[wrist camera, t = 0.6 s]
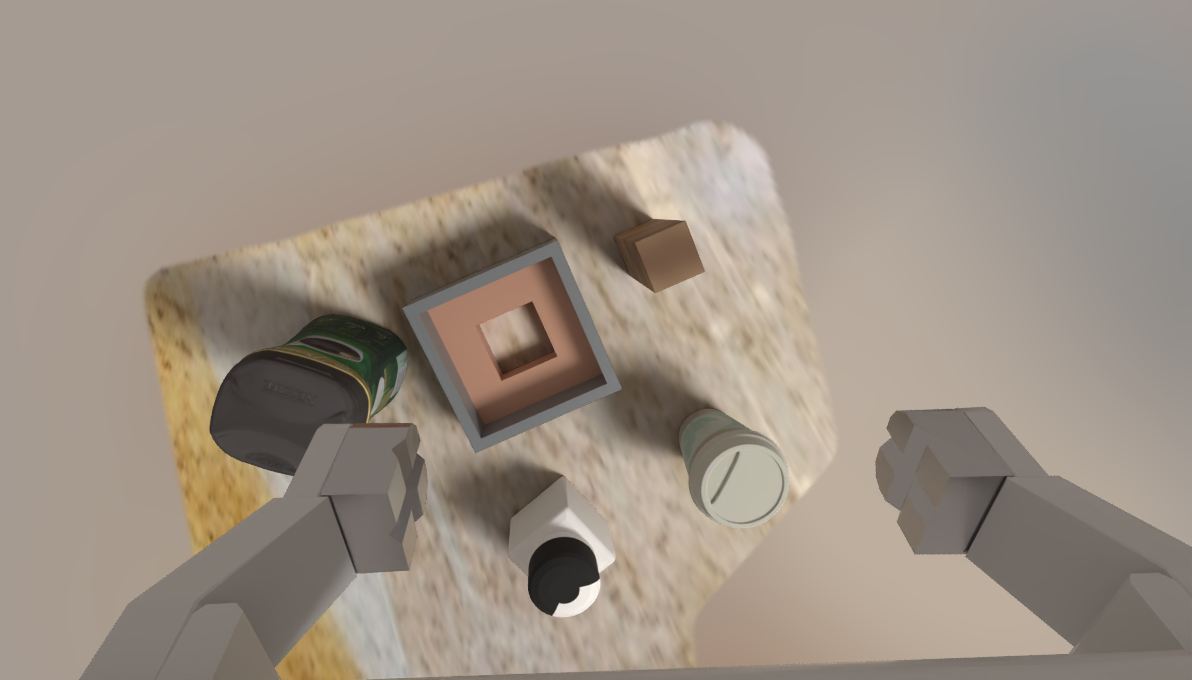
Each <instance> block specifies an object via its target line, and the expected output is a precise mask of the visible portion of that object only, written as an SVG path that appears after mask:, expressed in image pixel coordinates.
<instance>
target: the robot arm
mask: <svg viewBox="0 0 1192 680" xmlns="http://www.w3.org/2000/svg"><path fill="white" fill-rule="evenodd" d="M887 430H888V432H889V433H890V435H891V437H892V438H891V439H889V440H888V441H887V442H886V443H884V444H883V445H882V446H881V447H880V448H879V452H878V455H877V458H876V478H877V482H878V485H879V489H880V491H881V493H882V494H883V497H884V499H885V500H886V501H887V502H888V503H890V504H891V505H893V506H894V507H895V508H897V509H898V510H900V513H899V517H898V520H897V523H898V525H899V526H900V528H901V530H902V532H903V534H904V535H905V537H906V539H907V541H908V543H909V545H910V547H911V548H912V550H913V552H914V554H966V557H967V558H968V559H969V560H970V561H971V562H973V563H974V564H975V565H976V566H978V567H979V568H980V569H981V570H982V571H984V572H985V573H986V574H987V575H988V576H989V577H991V578H992V579H993V580H994V581H996V582H997V583H998V584H999V585H1000V586H1002V587H1003V588H1004V589H1005V590H1006V591H1008V592H1009V593H1010V594H1011V595H1012V596H1014V597H1015V598H1016V599H1017V600H1018V601H1020V602H1021V603H1022V604H1023V605H1024V606H1026V607H1027V608H1028V609H1029V610H1030V611H1032V612H1033V613H1034V614H1035V615H1037V616H1038V617H1039V618H1040V619H1041V620H1043V621H1044V622H1045V623H1046V624H1047V625H1049V626H1050V627H1051V628H1052V629H1053V630H1055V631H1056V632H1057V633H1058V634H1060V635H1061V636H1062V637H1063V638H1064V639H1066V640H1067V641H1068V642H1069V643H1070V644H1072V645H1073V646H1074V648H1073V649H1072V650H1071V652H1070V653H1069V654H1060V655H1059V654H1057V655H1030V656H1004V657H977V658H948V659H922V660H895V661H866V662H838V663H812V664H785V665H760V666H732V667H705V668H678V669H650V670H621V671H593V672H565V673H536V674H508V675H479V676H451V677H424V678H397V679H369V680H1192V547H1191V546H1189V545H1187V544H1185V543H1183V542H1181V541H1180V540H1178V539H1176V538H1174V537H1172V536H1170V535H1168V534H1166V533H1164V532H1163V531H1161V530H1159V529H1157V528H1155V527H1153V526H1151V525H1149V524H1147V523H1146V522H1144V521H1142V520H1140V519H1138V518H1136V517H1135V516H1133V515H1131V514H1129V513H1127V512H1125V511H1123V510H1122V509H1120V508H1118V507H1116V506H1114V505H1112V504H1110V503H1108V502H1106V501H1105V500H1102V499H1101V498H1099V497H1097V496H1095V495H1093V494H1091V493H1090V492H1088V491H1086V490H1084V489H1082V488H1080V487H1078V486H1076V485H1075V484H1073V483H1071V482H1069V481H1067V480H1065V479H1063V478H1061V477H1060V476H1049V475H1048V474H1047V473H1046V472H1045V471H1044V470H1043V468H1042V467H1041V466H1040V465H1039V464H1038V463H1037V461H1036V460H1035V459H1034V458H1033V457H1032V456H1031V455H1030V453H1029V452H1028V451H1027V450H1026V449H1025V448H1024V446H1023V445H1022V444H1021V443H1020V442H1019V441H1018V439H1017V438H1016V437H1015V436H1014V435H1013V434H1012V432H1011V431H1010V430H1009V429H1008V428H1007V427H1006V425H1005V424H1004V423H1003V422H1002V421H1001V420H1000V418H999V417H998V416H997V415H996V414H995V413H994V412H993V411H992V410H990V409H988V408H986V407H975V408H955V409H933V410H903V411H896V412H895V413H894V414H893V415H892V416H891V417H890V420H889V423H888V426H887ZM419 443H420V437H419V434H418V430H417V426H416V425H414V424H413V423H354V424H323V425H322V426H321V427H319V428H318V429H317V430H316V432H315V434H314V436H313V438H312V440H311V442H310V444H309V447H308V449H307V451H306V453H305V455H304V457H303V459H302V461H301V463H300V465H299V467H298V469H297V471H296V473H295V475H294V477H293V479H292V481H291V483H290V485H289V487H288V489H287V491H286V493H285V495H284V497H283V498H273V499H272V500H271V501H269V502H268V503H266V504H265V505H264V506H262V507H261V508H260V509H258V510H257V511H255V512H254V513H253V514H251V515H250V516H248V517H247V518H246V519H244V520H243V521H242V522H240V523H239V524H237V525H236V526H235V527H233V528H232V529H231V530H229V531H228V532H226V533H225V534H224V535H222V536H221V537H220V538H218V539H217V540H215V541H214V542H213V543H211V544H210V545H209V546H207V547H206V548H204V549H203V550H202V551H200V552H199V553H198V554H196V555H195V556H193V557H192V558H191V559H189V560H188V561H186V562H185V563H184V564H182V565H181V566H180V567H178V568H177V569H175V570H174V571H173V572H171V573H170V574H169V575H167V576H166V577H164V578H163V579H162V580H160V581H159V582H158V583H156V584H155V585H154V586H152V587H151V588H149V589H148V590H147V591H145V592H144V593H143V594H141V595H140V596H138V597H137V598H135V599H134V600H133V601H131V602H130V603H129V604H128V605H127V606H126V608H125V610H124V611H123V613H122V614H121V616H120V617H119V619H118V620H117V622H116V623H115V625H114V627H113V628H112V630H111V631H110V633H109V634H108V636H107V637H106V639H105V641H104V642H103V644H102V645H101V647H100V648H99V650H98V651H97V653H96V654H95V656H94V658H93V659H92V661H91V662H90V664H89V665H88V667H87V668H86V670H85V671H84V673H83V675H82V676H81V678H80V679H79V680H281V679H280V677H279V675H278V674H277V672H276V670H275V667H276V666H277V665H278V664H279V662H280V661H281V660H282V659H283V658H284V657H285V656H286V655H287V654H288V652H289V651H290V650H291V649H292V648H293V647H294V646H295V645H296V644H297V642H298V641H299V640H300V639H301V638H302V637H303V636H304V635H305V634H306V632H307V631H308V630H309V629H310V628H311V627H312V626H313V625H314V624H315V622H316V621H317V620H318V619H319V618H320V617H321V616H322V615H323V613H324V612H325V611H326V610H327V609H328V608H329V607H330V606H331V605H332V603H333V602H334V601H335V600H336V599H337V598H338V597H339V596H340V595H341V593H342V592H343V591H344V590H345V589H346V588H347V587H348V586H349V585H350V583H351V582H352V581H353V580H354V579H355V578H356V574H357V573H374V572H391V571H408V570H410V566H411V562H412V558H413V554H414V550H415V546H416V542H417V538H418V535H417V531H416V526H415V522H416V521H417V520H418V519H419V518H420V517H421V516H422V515H423V513H424V509H425V504H426V499H427V486H428V481H427V469H426V464H425V460H424V459H423V458H422V457H421V456H420V455H418V454H417V451H418V447H419Z"/></svg>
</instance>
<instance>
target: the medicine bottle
mask: <svg viewBox="0 0 1192 680" xmlns="http://www.w3.org/2000/svg"><path fill="white" fill-rule="evenodd" d="M508 557H509V558H510V559H511V560H512V561H513V562H514V563H515V564H516V565H517V566H518V567H519V568H520V569H521V570H522V571H523V572H524V573H525V574H526V575H527V576H528V591H529V595H530V598H531V600H532V602H533V603H534V604H535V606H536V607H537V608H538V609H540V610H541V611H542V612H544V613H546V614H548V615H551V616H555V617H569V616H574V615H577V614H579V613H581V612H583V611H584V610H586V609H587V608H588V607H589V606H590V605H591V604H592V603H593V602H594V601H595V599H596V597H597V595H598V593H599V589H600V577H599V573H600V572H601V571H602V570H604V569H605V568H606V567H607V566H609V565H610V564H611V563H612V562H614V560H615V552H614V548H613V544H612V539H611V535H610V531H609V526H608V522H607V521H606V520H605V519H604V518H603V517H602V516H601V514H600V513H599V512H598V511H597V510H596V509H595V508H594V507H593V506H592V505H591V504H590V503H589V502H588V501H587V500H586V498H585V497H584V496H583V495H582V494H581V493H580V492H579V491H578V490H577V489H576V488H575V487H574V486H573V485H572V484H571V482H570V481H569V480H568V479H567V478H566V477H564V476H562V477H560V478H559V479H558V480H557V481H555V482H554V483H553V484H552V485H551V486H549V487H548V488H547V489H546V490H545V491H543V492H542V493H541V494H540V495H539V496H537V497H536V498H535V499H534V500H533V501H531V502H530V503H529V504H528V505H526V506H525V507H524V508H523V509H522V510H520V511H519V512H518V513H517V514H516V515H514V516H513V517H512V518H511V523H510V535H509V547H508Z"/></svg>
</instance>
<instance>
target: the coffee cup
mask: <svg viewBox="0 0 1192 680" xmlns="http://www.w3.org/2000/svg"><path fill="white" fill-rule="evenodd" d="M679 445H680V448H681V452H682V455H683V459H684V462H685V465H686V469H687V472H688V475H689V490H690V494H691V497H692V499H693V501H694V503H695V504H696V506H697V507H698V508H699V509H700V511H701V512H703V513H704V514H705V515H706V516H707V517H708V518H710V519H711V520H713V521H715V522H717V523H719V524H723V525H725V526H728V527H731V528H740V529H742V528H751V527H755V526H757V525H760V524H762V523H764V522H766V521H768V520H769V519H770V518H772V517H773V516H774V515H775V514H776V513H777V512H778V511H779V509H780V508H781V507H782V505H783V503H784V502H785V499H786V497H787V494H788V489H789V473H788V466H787V462H786V460H785V457H784V456H783V453H782V452H781V450H780V448H779V447H778V446H777V444H776V443H775V442H774V441H772V440H771V439H770V438H769V437H767V436H765V435H764V434H761V433H759V432H756V431H752V430H750V429H749V428H747V427H745V426H744V425H742V424H741V423H739V422H738V421H736V420H734V419H733V418H731V417H730V416H728V415H726V414H725V413H723V412H721V411H719V410H716V409H701V410H698V411H696V412H694V413H692V414H691V415H690V416H688V417H687V418H686V419H685V421H684V422H683V424H682V425H681V428H680V431H679Z"/></svg>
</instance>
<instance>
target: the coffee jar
mask: <svg viewBox="0 0 1192 680" xmlns="http://www.w3.org/2000/svg"><path fill="white" fill-rule="evenodd" d="M407 364H408V352H407V349H406V346H405V345H404V343H403V342H402V340H401V339H400V338H399V337H397V336H396V335H394V334H393V333H391V332H389V331H387V330H385V329H382V328H380V327H378V326H375V325H373V324H370V323H367V322H364V321H361V320H357V319H354V318H350V317H346V316H340V315H324V316H321V317H319V318H316V319H315V320H313V321H312V322H310V323H309V324H308V325H306V326H305V327H304V328H303V329H302V330H301V331H300V332H299V333H298V334H297V335H296V336H295V337H293V338H292V339H291V340H290V341H288V342H287V343H286V344H284V345H282V346H278V347H272V348H267V349H262V350H258V351H255V352H253V353H251V354H249V355H247V356H246V357H245V358H243V359H242V360H241V361H240V362H239V363H238V364H236V365H235V366H234V367H233V368H232V369H231V370H230V372H229V373H228V374H227V375H226V377H225V379H224V380H223V382H222V384H221V386H220V389H219V391H218V394H217V397H216V400H215V403H214V406H213V410H212V416H211V421H210V434H211V435H212V437H213V440H214V441H215V443H216V444H217V445H218V446H219V447H220V448H221V449H222V450H223V451H224V452H225V453H226V454H228V455H229V456H231V457H233V458H235V459H237V460H239V461H242V462H246V463H248V464H251V465H254V466H257V467H260V468H263V469H267V470H270V471H274V472H277V473H282V474H286V475H291V476H294V475H295V473H296V471H297V469H298V467H299V465H300V463H301V461H302V459H303V457H304V455H305V453H306V451H307V449H308V447H309V444H310V442H311V440H312V438H313V436H314V434H315V432H316V430H317V429H318V428H319V427H321V426H322V425H323V424H354V423H369V420H370V418H372V417H373V416H374V415H375V414H377V413H378V412H379V411H381V410H382V409H383V408H384V407H385V406H387V405H388V404H389V403H390V402H391V401H392V399H393V398H394V397H395V396H396V394H397V393H398V391H399V389H400V387H401V385H402V382H403V380H404V377H405V373H406V369H407Z"/></svg>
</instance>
